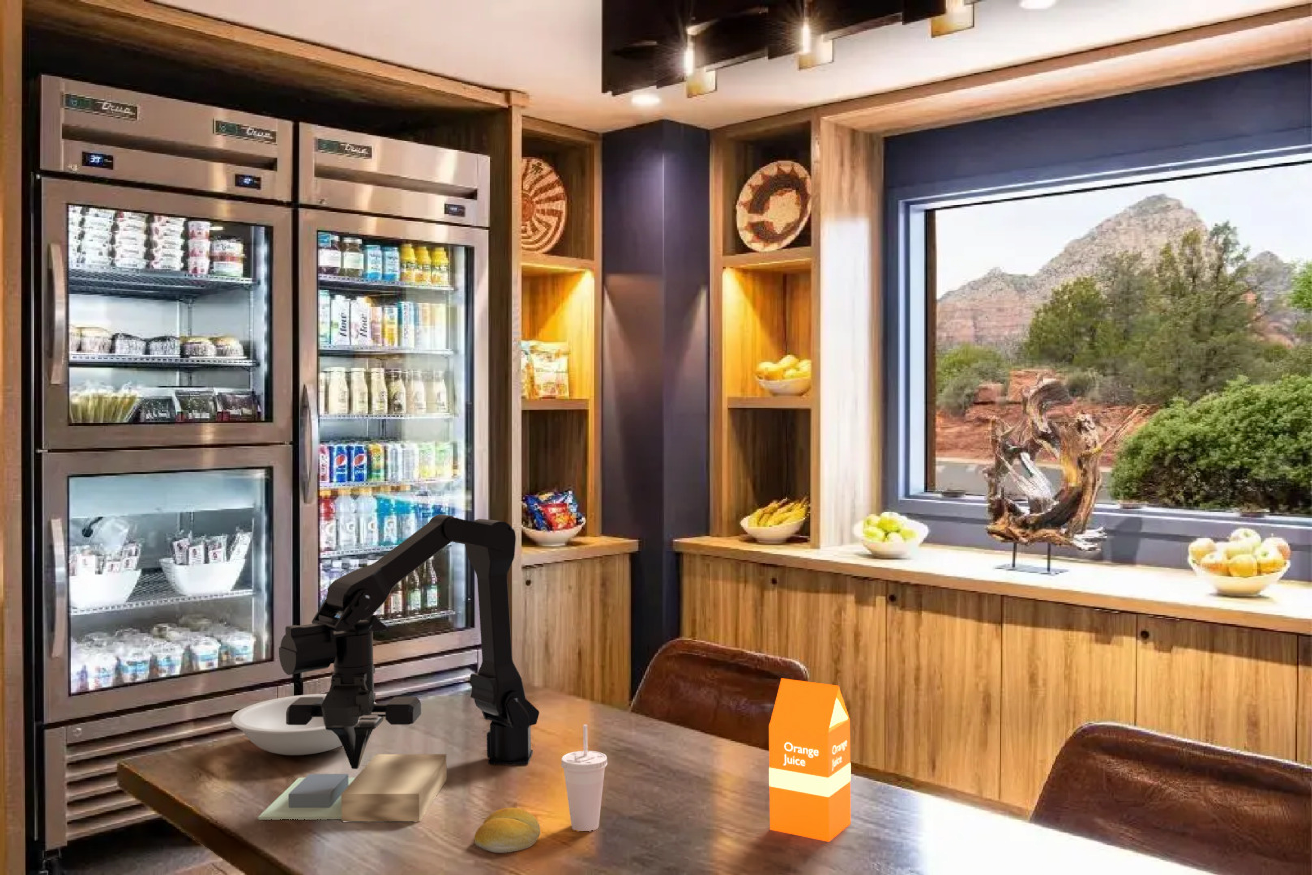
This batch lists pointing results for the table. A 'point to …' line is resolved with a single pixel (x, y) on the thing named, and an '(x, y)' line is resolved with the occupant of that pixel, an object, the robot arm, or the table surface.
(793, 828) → the orange juice
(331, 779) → the grey bevelled block
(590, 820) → the smoothie
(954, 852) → the table surface
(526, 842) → the bread roll
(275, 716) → the soup bowl
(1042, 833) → the table surface
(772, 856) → the table surface
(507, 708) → the robot arm
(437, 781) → the wooden block
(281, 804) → the mat
